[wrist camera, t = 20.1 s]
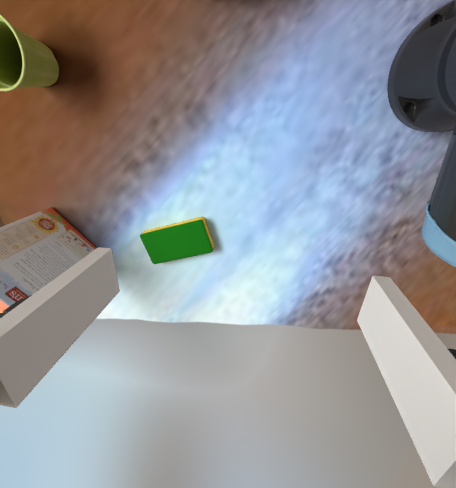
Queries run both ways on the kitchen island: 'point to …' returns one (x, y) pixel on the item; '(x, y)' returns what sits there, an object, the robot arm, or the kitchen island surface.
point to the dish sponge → (178, 240)
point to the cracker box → (37, 254)
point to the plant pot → (24, 60)
